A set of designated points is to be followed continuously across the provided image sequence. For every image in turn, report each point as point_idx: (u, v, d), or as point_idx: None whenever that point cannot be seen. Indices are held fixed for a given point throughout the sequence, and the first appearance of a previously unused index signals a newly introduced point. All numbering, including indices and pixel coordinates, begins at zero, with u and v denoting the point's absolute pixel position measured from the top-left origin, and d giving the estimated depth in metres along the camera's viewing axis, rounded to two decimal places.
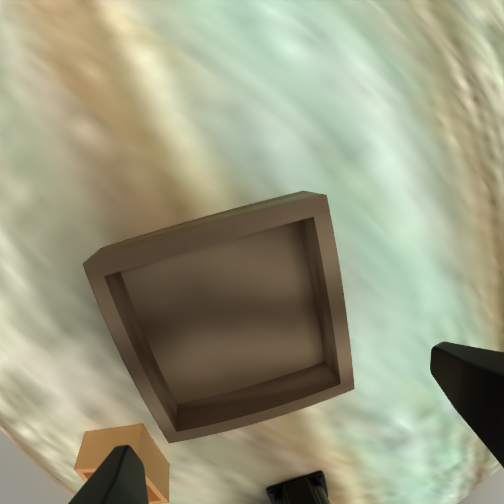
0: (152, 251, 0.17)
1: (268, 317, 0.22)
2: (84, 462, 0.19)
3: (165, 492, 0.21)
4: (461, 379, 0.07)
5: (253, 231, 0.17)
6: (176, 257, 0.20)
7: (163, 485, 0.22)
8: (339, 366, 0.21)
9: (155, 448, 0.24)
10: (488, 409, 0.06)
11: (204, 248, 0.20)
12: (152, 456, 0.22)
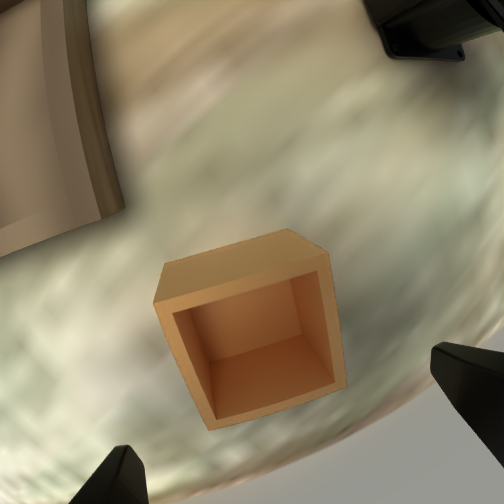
0: None
1: None
2: None
3: (305, 252, 0.12)
4: (461, 379, 0.07)
5: None
6: None
7: (283, 253, 0.12)
8: None
9: (224, 249, 0.15)
10: (489, 409, 0.06)
11: None
12: (216, 260, 0.13)
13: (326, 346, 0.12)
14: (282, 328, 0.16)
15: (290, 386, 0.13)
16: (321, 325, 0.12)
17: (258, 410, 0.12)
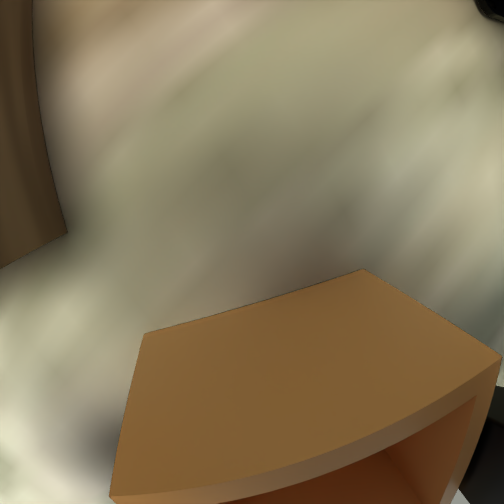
0: None
1: None
2: None
3: (447, 348, 0.04)
4: None
5: None
6: None
7: (401, 351, 0.05)
8: None
9: (255, 315, 0.07)
10: None
11: None
12: (246, 351, 0.06)
13: (433, 480, 0.05)
14: None
15: None
16: (436, 457, 0.05)
17: None
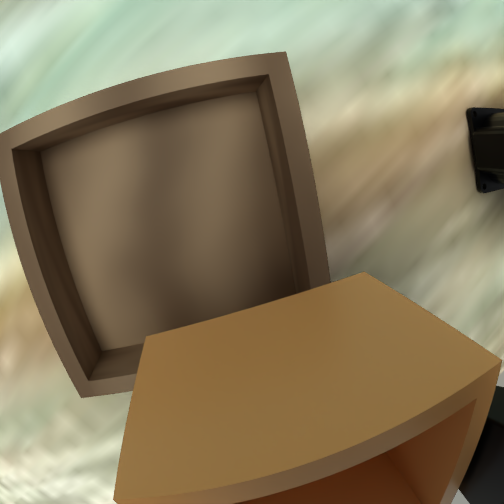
0: (55, 331, 0.13)
1: (167, 177, 0.16)
2: None
3: (448, 352, 0.05)
4: None
5: (24, 221, 0.12)
6: (91, 289, 0.16)
7: (403, 355, 0.05)
8: (231, 77, 0.12)
9: (257, 318, 0.07)
10: None
11: (79, 258, 0.16)
12: (248, 355, 0.06)
13: (433, 481, 0.05)
14: None
15: None
16: (436, 458, 0.05)
17: None
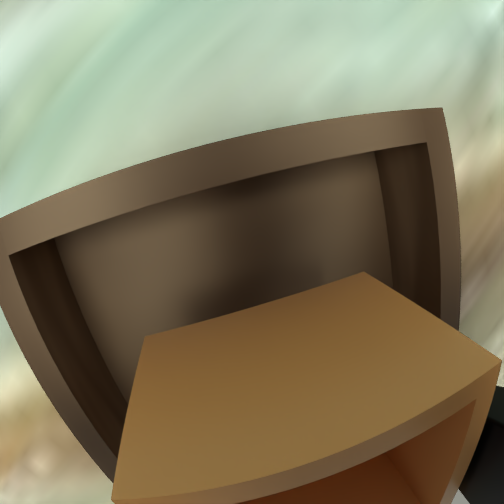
0: None
1: (259, 273, 0.11)
2: None
3: (447, 352, 0.04)
4: None
5: (55, 367, 0.08)
6: None
7: (402, 356, 0.05)
8: (383, 146, 0.08)
9: (256, 318, 0.07)
10: None
11: (132, 378, 0.12)
12: (246, 355, 0.06)
13: (433, 482, 0.05)
14: None
15: None
16: (436, 459, 0.05)
17: None
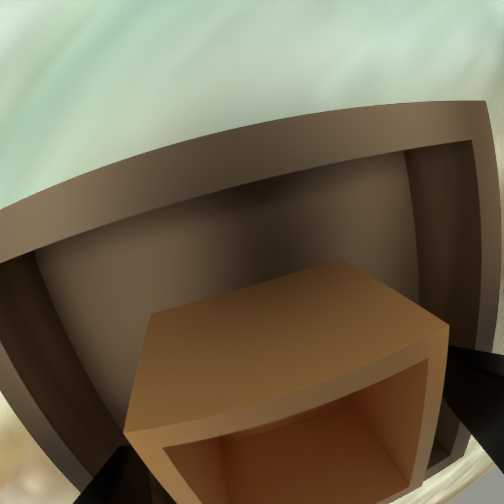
0: None
1: None
2: None
3: (403, 319, 0.06)
4: (458, 381, 0.07)
5: (34, 404, 0.06)
6: None
7: (364, 321, 0.06)
8: (428, 142, 0.06)
9: (246, 296, 0.09)
10: (485, 412, 0.06)
11: (127, 406, 0.10)
12: (237, 323, 0.07)
13: (406, 446, 0.07)
14: None
15: (345, 494, 0.07)
16: (405, 422, 0.06)
17: None
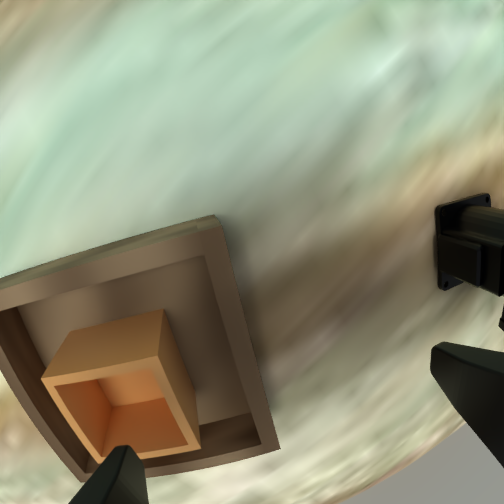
0: (54, 443, 0.14)
1: None
2: None
3: (148, 348, 0.13)
4: (461, 379, 0.07)
5: (13, 371, 0.13)
6: None
7: (134, 346, 0.13)
8: (167, 262, 0.13)
9: (109, 326, 0.16)
10: (489, 409, 0.06)
11: None
12: (96, 340, 0.15)
13: None
14: None
15: (157, 440, 0.14)
16: None
17: None
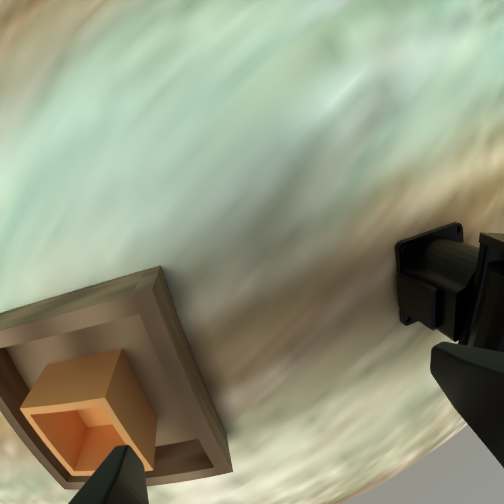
0: (39, 456, 0.16)
1: None
2: None
3: (100, 389, 0.14)
4: (461, 379, 0.07)
5: (1, 398, 0.14)
6: None
7: (90, 386, 0.14)
8: (109, 320, 0.14)
9: (76, 362, 0.17)
10: (489, 410, 0.06)
11: None
12: (64, 376, 0.16)
13: None
14: None
15: None
16: None
17: None
